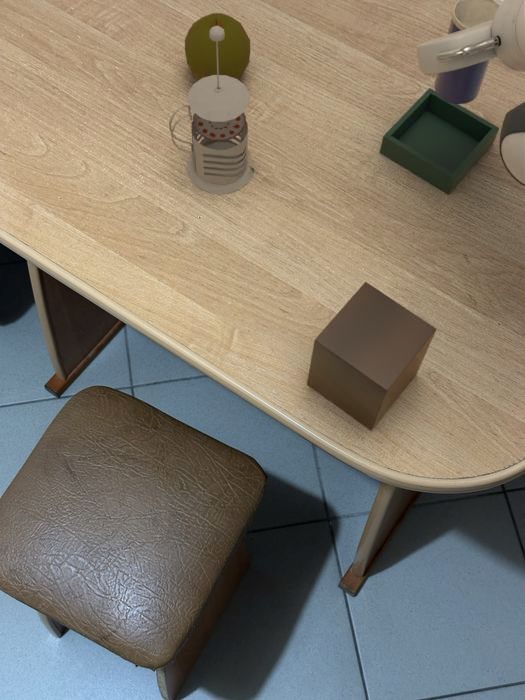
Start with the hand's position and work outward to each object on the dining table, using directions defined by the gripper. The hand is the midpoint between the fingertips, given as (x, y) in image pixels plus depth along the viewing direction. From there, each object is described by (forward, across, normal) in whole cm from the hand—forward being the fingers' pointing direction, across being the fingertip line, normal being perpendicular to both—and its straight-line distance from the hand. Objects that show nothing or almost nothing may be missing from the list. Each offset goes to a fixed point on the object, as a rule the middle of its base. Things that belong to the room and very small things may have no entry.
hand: (467, 41), depth 105 cm
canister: (+5, 0, -6) cm, 7 cm away
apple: (+33, -23, +4) cm, 40 cm away
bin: (+14, 0, -15) cm, 20 cm away
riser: (-6, -27, -35) cm, 44 cm away
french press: (+21, -31, -7) cm, 38 cm away
